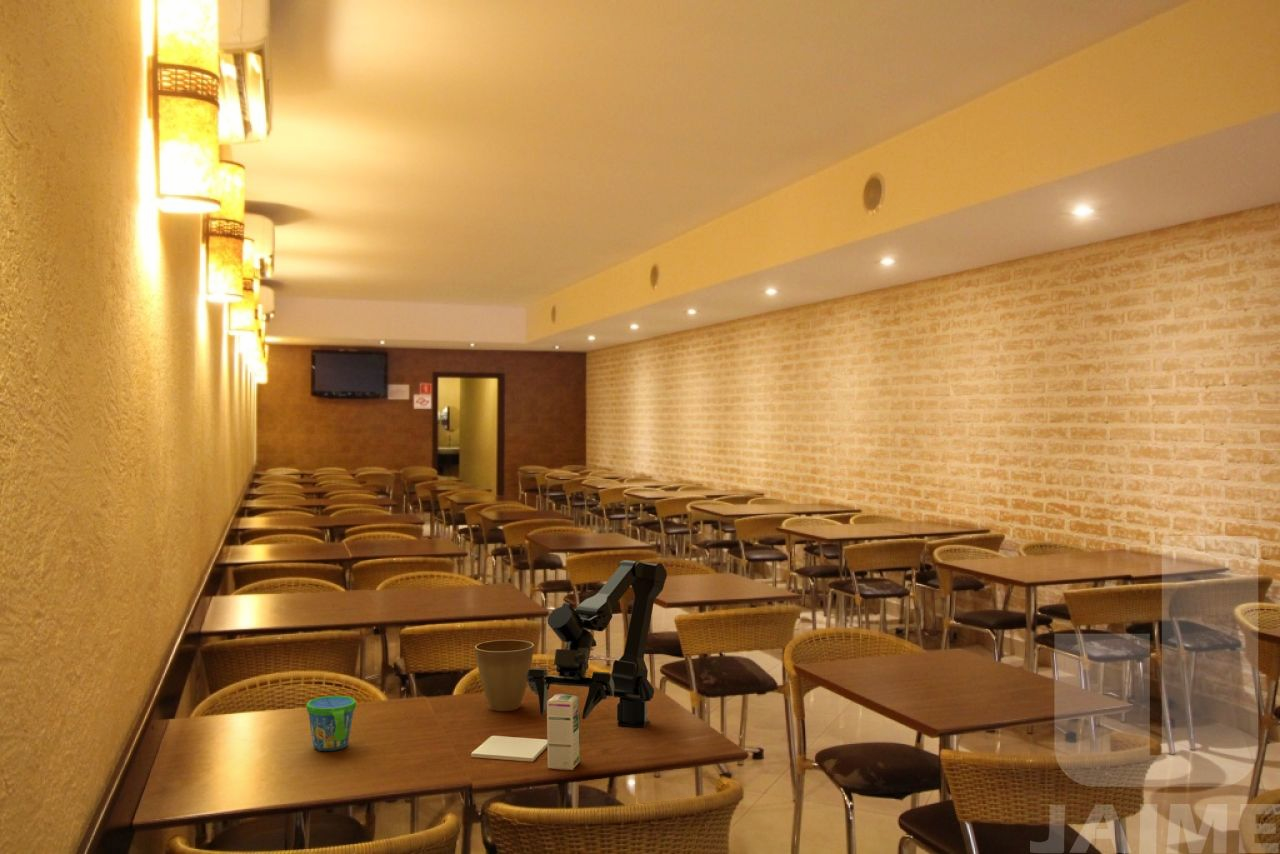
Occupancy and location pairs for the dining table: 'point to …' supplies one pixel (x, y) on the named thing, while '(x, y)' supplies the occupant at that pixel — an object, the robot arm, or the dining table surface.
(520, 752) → the cream mat
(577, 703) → the syrup box
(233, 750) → the dining table surface
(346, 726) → the snack cup
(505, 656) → the plant pot
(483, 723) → the dining table surface
